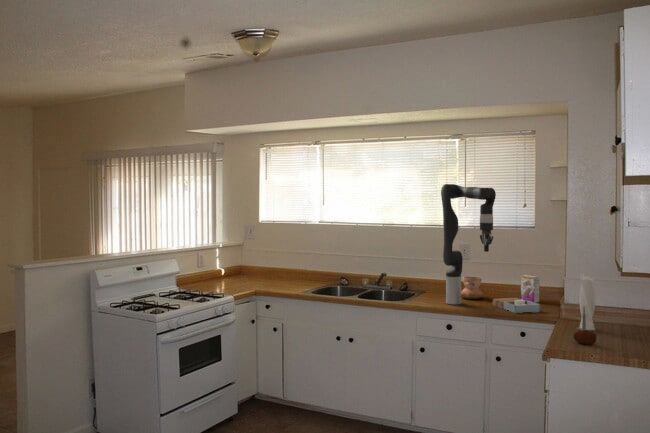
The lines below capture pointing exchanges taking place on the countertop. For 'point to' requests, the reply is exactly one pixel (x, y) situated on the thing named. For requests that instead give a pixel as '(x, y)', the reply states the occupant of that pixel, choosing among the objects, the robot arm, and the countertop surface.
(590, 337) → the potato
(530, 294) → the candy bar box
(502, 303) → the board
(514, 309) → the tray
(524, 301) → the tile
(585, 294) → the white statue
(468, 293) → the ceramic jug
